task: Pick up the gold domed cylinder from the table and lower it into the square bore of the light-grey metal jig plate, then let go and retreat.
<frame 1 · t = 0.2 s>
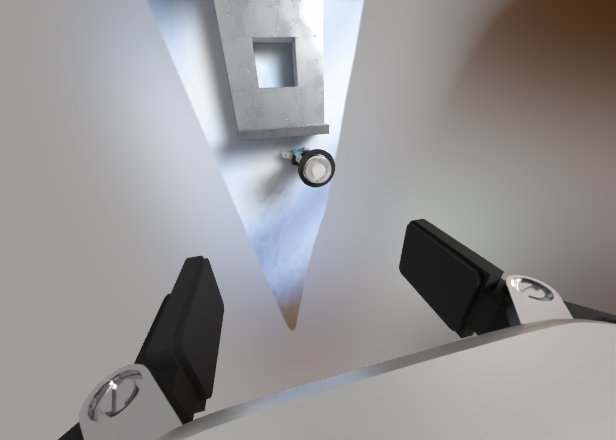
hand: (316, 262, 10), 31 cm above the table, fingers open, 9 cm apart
jig: (274, 66, 32), on the table
push button: (300, 155, 38), on the table
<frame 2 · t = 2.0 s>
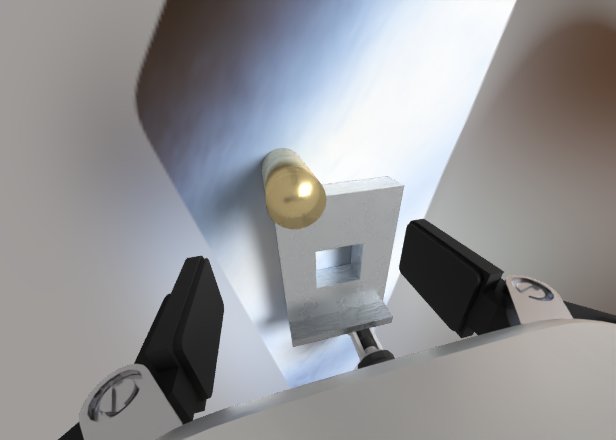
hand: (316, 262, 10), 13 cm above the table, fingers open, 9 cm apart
jig: (331, 250, 27), on the table
gold domed cylinder: (282, 169, 21), on the table
push button: (348, 311, 35), on the table
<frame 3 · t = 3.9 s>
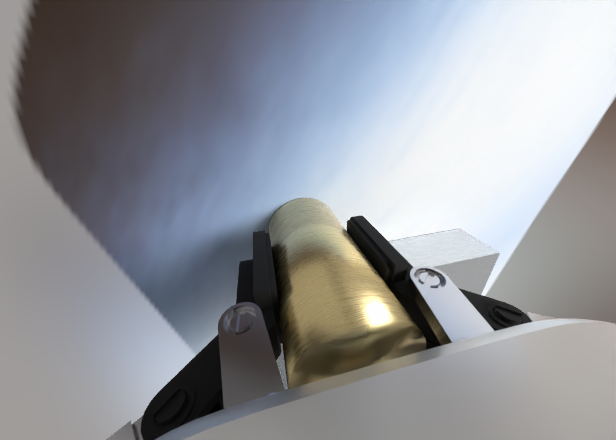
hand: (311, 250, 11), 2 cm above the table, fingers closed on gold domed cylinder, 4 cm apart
jig: (366, 328, 19), on the table
gold domed cylinder: (302, 229, 13), on the table, touching gripper, jig
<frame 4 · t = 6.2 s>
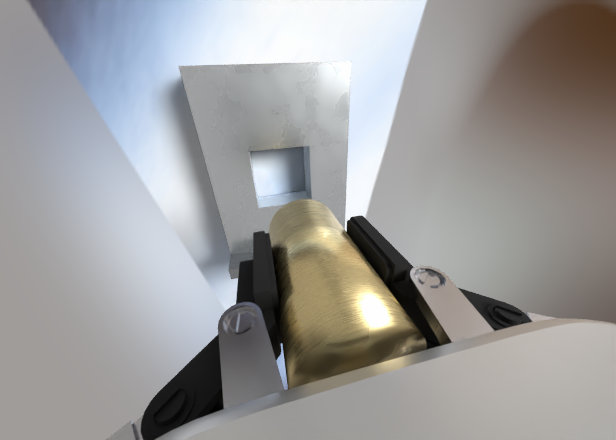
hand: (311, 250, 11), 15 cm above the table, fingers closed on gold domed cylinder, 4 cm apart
jig: (279, 169, 23), on the table
gold domed cylinder: (302, 230, 13), point 12 cm above the table, touching gripper
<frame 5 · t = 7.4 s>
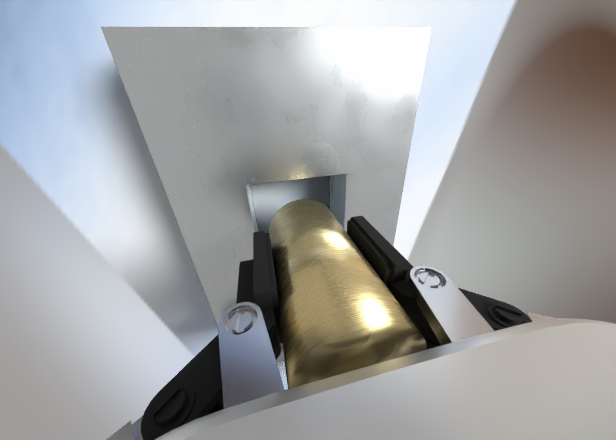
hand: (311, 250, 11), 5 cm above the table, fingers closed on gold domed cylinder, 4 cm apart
jig: (293, 203, 16), on the table
gold domed cylinder: (302, 230, 13), point 3 cm above the table, touching gripper
when the fingers open (4 cm above the table, at t = 8.4 s): gold domed cylinder drops 1 cm, resting in jig.
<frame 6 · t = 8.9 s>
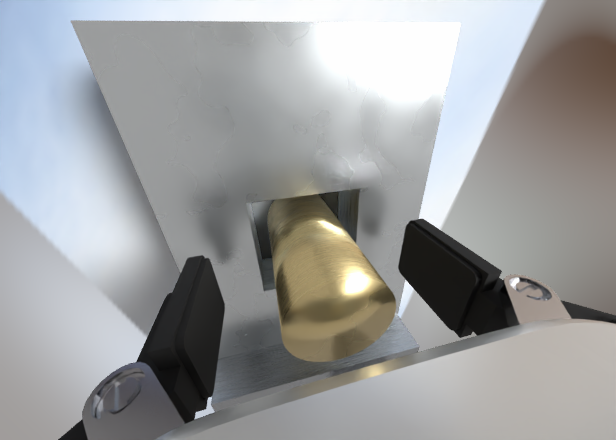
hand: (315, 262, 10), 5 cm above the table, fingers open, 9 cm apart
jig: (298, 218, 14), on the table
gold domed cylinder: (298, 218, 14), resting in jig
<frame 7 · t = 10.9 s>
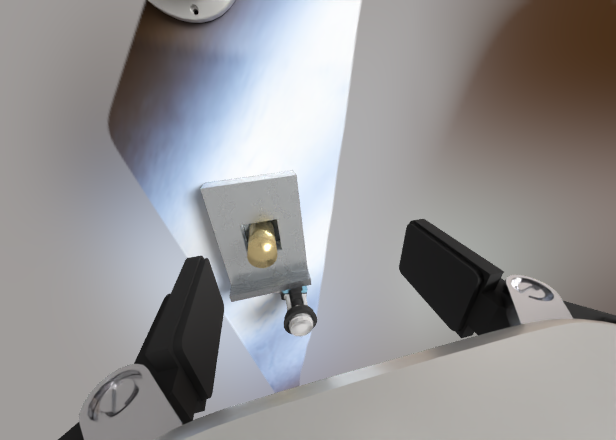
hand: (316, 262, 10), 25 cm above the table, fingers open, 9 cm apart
jig: (261, 229, 36), on the table
gold domed cylinder: (261, 229, 36), resting in jig
push button: (289, 284, 43), on the table
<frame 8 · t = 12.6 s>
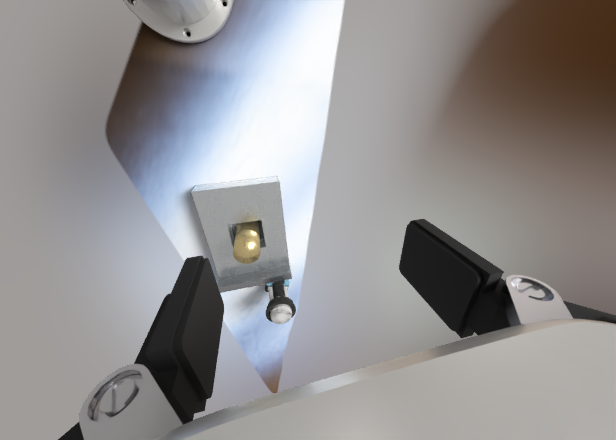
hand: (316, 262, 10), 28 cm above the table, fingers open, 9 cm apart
jig: (247, 227, 40), on the table
gold domed cylinder: (247, 227, 40), resting in jig
push button: (273, 277, 47), on the table
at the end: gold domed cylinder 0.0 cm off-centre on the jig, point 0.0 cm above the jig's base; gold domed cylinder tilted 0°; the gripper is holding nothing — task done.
